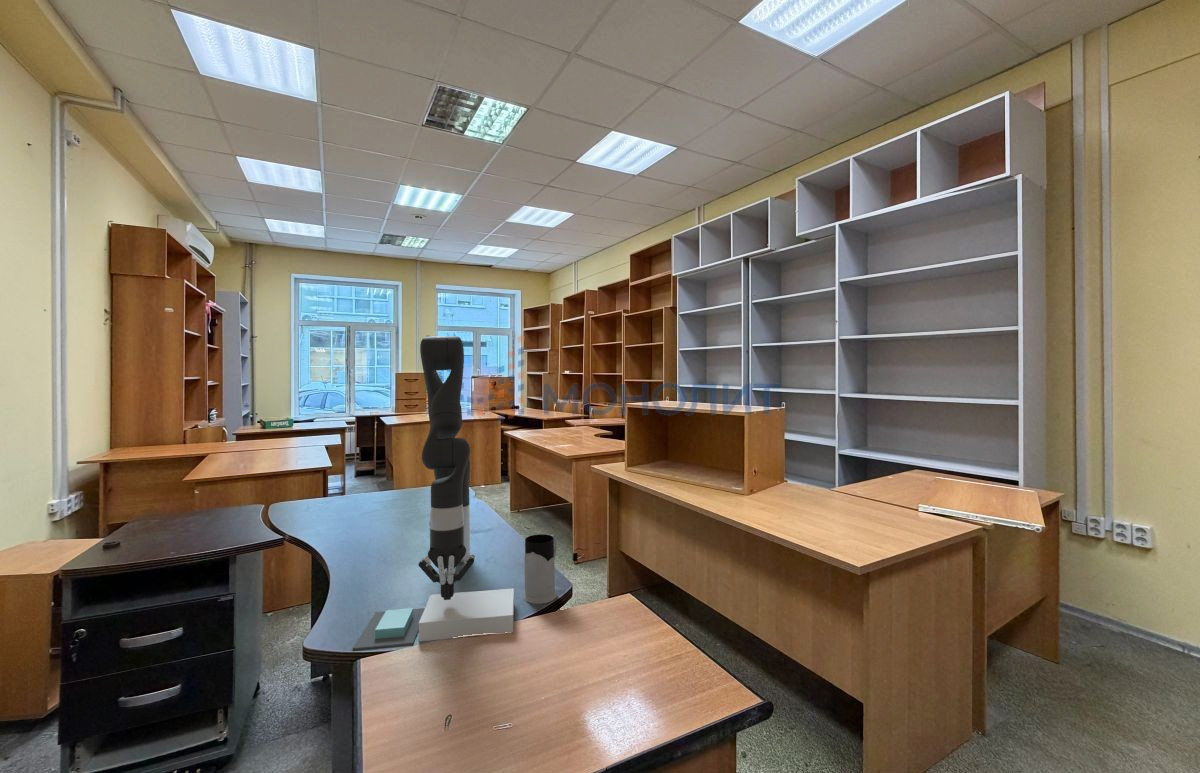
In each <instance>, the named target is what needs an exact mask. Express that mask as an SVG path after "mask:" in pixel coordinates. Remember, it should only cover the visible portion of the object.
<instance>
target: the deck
mask: <svg viewBox="0 0 1200 773" xmlns="http://www.w3.org/2000/svg"><path fill="white" fill-rule="evenodd" d="M424 608H425V610H424V612H423V614H422V616H421V619H420V621H419V631H418V642H429V641H430V642H431V641H441V640H448V638H452V639H454V638H453V637H458V636H463V635H472V634H483V633H505V632H513V633H514V612H515V611H514V610H515V588H505V589H504V588H502V589H501V588H500V589H492V590H491V589H490V590H489V589H487V590H478V591H476V590H475V591H464V592H454V595H453V597H451V600H444V598H442V597H441V593H437V594H436V593H435V594H430V596H429V599H428V601H427V603H426V606H425V607H424Z"/></svg>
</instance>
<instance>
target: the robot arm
mask: <svg viewBox="0 0 1200 773" xmlns="http://www.w3.org/2000/svg"><path fill="white" fill-rule="evenodd" d="M419 352H420V359H421V365H422V371H423V372H422V373H423V376H424V381H425V387H426V395H427V396H426V397H427V410H428V412H427V413H428V420H429V431H428V434H427V438H426V440H425V442H424V445H423V449H422V451H421V461H422V464H423V466H424V467H425V468H427V469H429V470H433V476H434V479H435V480H434V481H432V483H431V484H430V512H429V520H428V521H429V523H428V525H429V550H428V552H427V555H426V556H425V557H422V558H420V560H419V562H418V564H417V565H418V567H419V568H420V569H421V570H422V571H423V573H424V574H425V575H426V576H427V577H428V579H430V580H431V582H432V583H438V584H440V594H441V597H442V598H444V600H451V597H453V595H454V593H455V582H460V581H461V580H462V579H463V577H464V576H465V574H466V573H467V572H468V571H469V570H470V568H471V567H472V565H473V564H474V563H475V559H476V556H475V555H474V554H471V552H470V551H471V547H470V546H471V530H470V529H471V527H470V525H471V523H470V521H471V520H470V478H471V475H470V474H471V461H470V459H471V458H470V455H471V447H470V444H469V442H468V440H466V439H465V438H462V437H456V436H457V435H458V434H459V432H460V430H461V428H462V425H463V411H462V410H463V409H462V405H461V396H462V395H461V393H462V388H463V378H464V366H465V350H464V343H463V340H462V339H461V337H460V336H455V335H436V336H425V337H423V338H422V339H421V341H420V346H419ZM438 371H450V373H449V374H448V376H447V378H445V379H446V380H445V381H444V382H443V381H442V379H441V378H440V375H439V373H438ZM432 563H433V565H434V566H435V567H436V569H438V571H437V570H436V569H435V568H434V566H432V565H431V564H432ZM460 563H463V565H462V567H460V569H459V570H458V572H457V573H456V568H457V567H458V566H459V564H460Z"/></svg>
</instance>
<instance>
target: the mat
mask: <svg viewBox="0 0 1200 773" xmlns="http://www.w3.org/2000/svg"><path fill="white" fill-rule="evenodd" d="M424 610H425V607H423V608H422V607H421V608H413V618H412V621H411V623H410V625H409V627H408V629H407V632H406V634H405V636H402V637H391V638H380V639H375V629H376V627H377V626H378V624H379V622H380V620H381V619H382V617H383V615H384V614H385V612H386V610H384V611H375V612H374V614H373V615H372V617H371V619H370V620H369V622H368V624H367V625H366V627H365V628H364V629H363V631H362V633H361V635H360V636H359V638H357V641H356V642H355V644H354V646H352V651H357V650H368V649H379V648H388V647H390V648H391V647H400V646H401V647H402V646H412V645H413V644H414V643H415V640H416V638H417V635H418V634H419V621H420V619H421V616H422V614H423V612H424Z"/></svg>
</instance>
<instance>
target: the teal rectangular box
mask: <svg viewBox="0 0 1200 773" xmlns="http://www.w3.org/2000/svg"><path fill="white" fill-rule="evenodd" d="M413 609H414V608H413V607H412V608H401V609H400V608H398V609H388V610H387V609H386V610H385V611H386V612H385V614H384V615H383V617H382V619H381V620H380V622H379V624H378V626H377V627H376V629H375V639H380V638H391V637H402V636H405V634H406V632H407V629H408V627H409V625H410V623H411V621H412V618H413Z"/></svg>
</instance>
